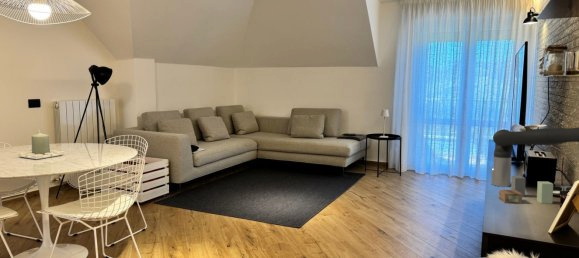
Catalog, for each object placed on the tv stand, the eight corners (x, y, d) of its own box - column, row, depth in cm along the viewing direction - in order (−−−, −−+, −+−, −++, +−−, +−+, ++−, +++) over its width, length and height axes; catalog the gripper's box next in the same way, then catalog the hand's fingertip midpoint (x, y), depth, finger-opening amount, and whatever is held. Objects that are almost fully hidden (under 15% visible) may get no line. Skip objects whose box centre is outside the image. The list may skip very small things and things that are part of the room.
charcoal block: (514, 196, 211) (515, 178, 210) (511, 194, 216) (511, 176, 215) (524, 196, 210) (525, 178, 209) (520, 194, 215) (521, 176, 214)
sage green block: (541, 203, 198) (542, 183, 197) (536, 200, 203) (537, 181, 202) (552, 203, 197) (553, 183, 196) (547, 200, 202) (548, 181, 201)
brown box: (504, 203, 200) (505, 193, 199) (498, 199, 208) (499, 189, 207) (521, 203, 198) (522, 194, 198) (515, 199, 206) (515, 190, 206)
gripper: (583, 180, 203) (549, 180, 205) (600, 187, 189) (563, 186, 191) (582, 195, 204) (548, 194, 206) (599, 203, 190) (562, 202, 192)
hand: (555, 190), depth 199 cm, fingers open, 8 cm apart
